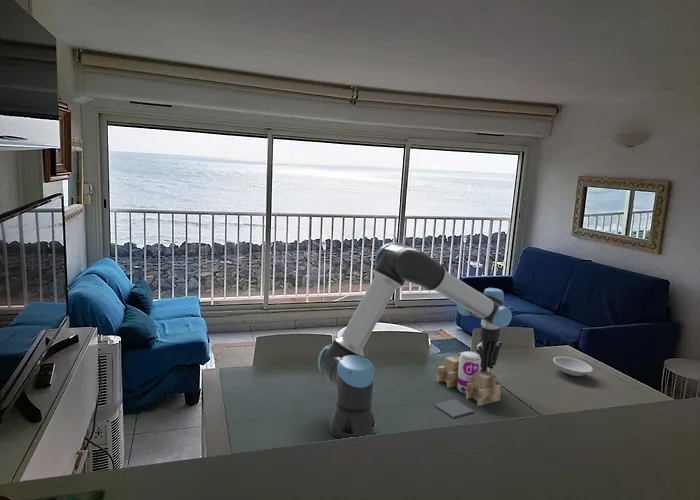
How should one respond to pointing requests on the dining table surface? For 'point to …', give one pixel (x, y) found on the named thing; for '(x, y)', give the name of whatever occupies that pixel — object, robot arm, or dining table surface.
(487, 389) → the rack
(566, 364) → the dish
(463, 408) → the mat
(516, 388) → the dining table surface
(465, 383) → the supplement can
